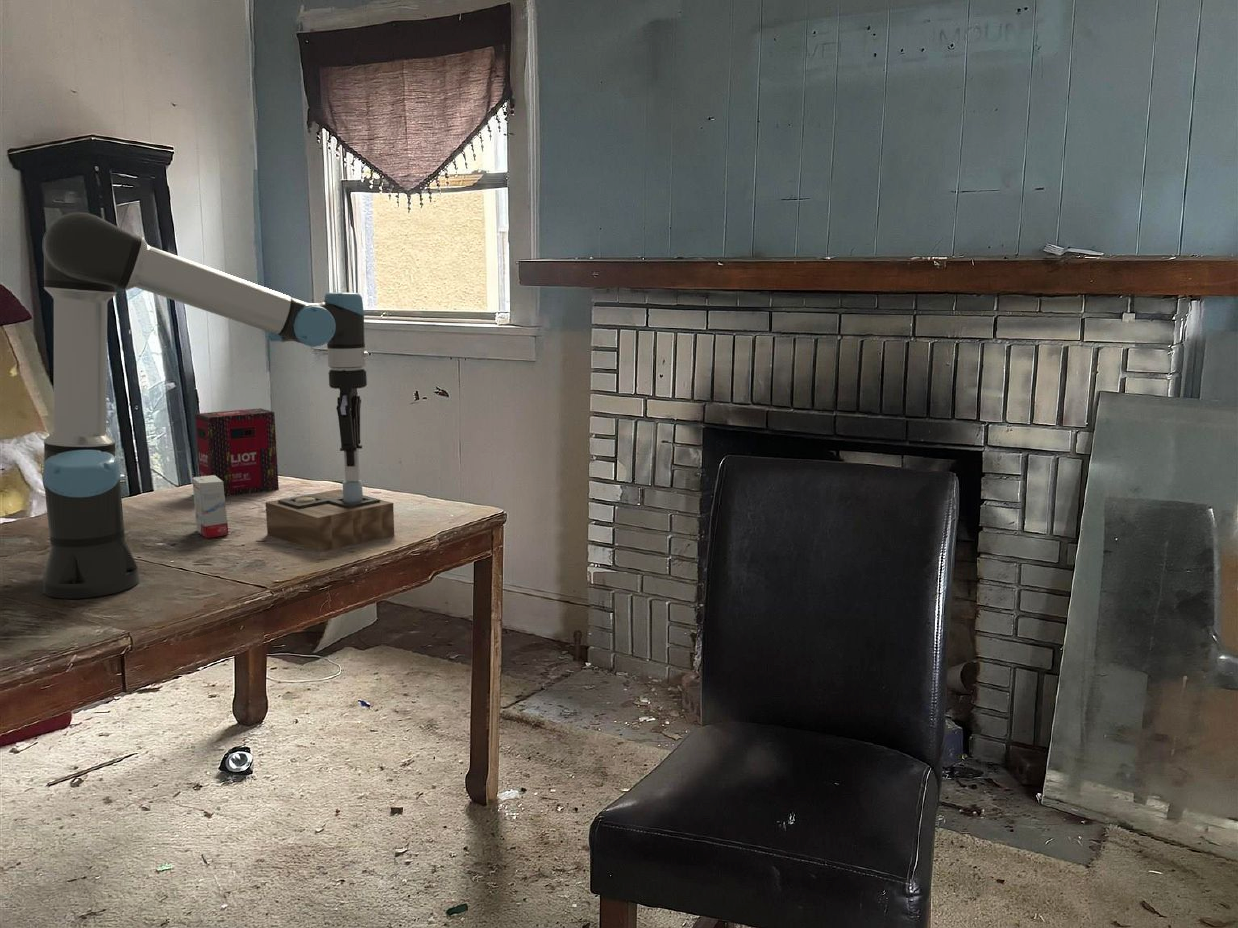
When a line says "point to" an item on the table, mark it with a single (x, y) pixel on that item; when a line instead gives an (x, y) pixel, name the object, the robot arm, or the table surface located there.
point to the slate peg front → (352, 491)
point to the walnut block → (329, 520)
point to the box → (238, 449)
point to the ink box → (210, 506)
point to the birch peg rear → (305, 500)
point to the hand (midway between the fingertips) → (352, 480)
